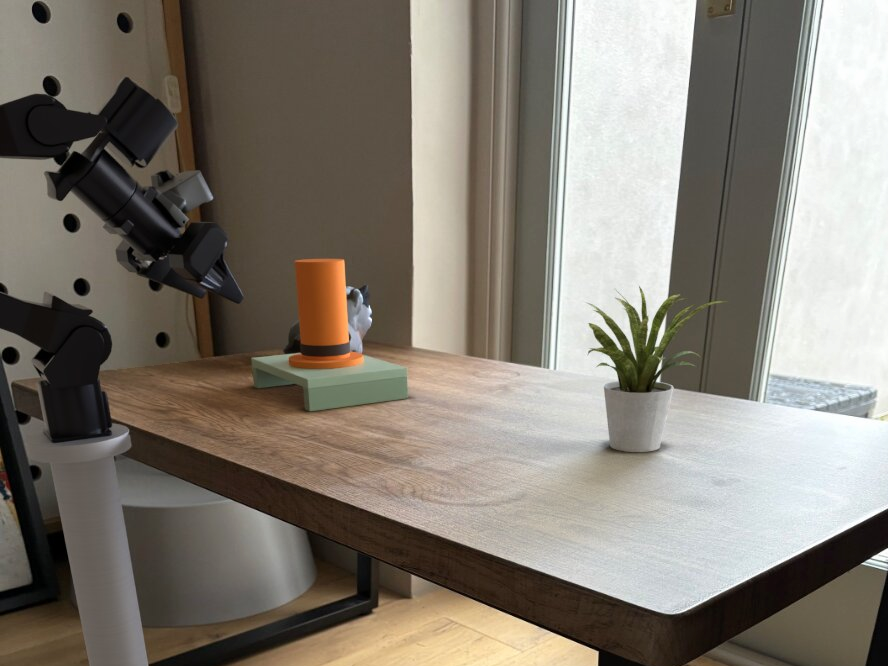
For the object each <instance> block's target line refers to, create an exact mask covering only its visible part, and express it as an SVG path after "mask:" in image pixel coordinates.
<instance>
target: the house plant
mask: <svg viewBox="0 0 888 666" xmlns="http://www.w3.org/2000/svg"><path fill="white" fill-rule="evenodd" d="M638 288H639V293H640V296H641V297H640V298H641V309H640V310H641V318H640V315H639V313H638V311H637V309H636V308H635V307H634V306H633V305H632V304H630V303H629V301H628V300H627V299H626V297H624V296H623V295H622V294H621V293H620V292H619V291H618V290H617V289H616V288H615V287H614V290H615V291H616V292H617V293H618V294H619V295H620V296H621V297H622V298H623V299H621V298H618V297H615V299H616V300H617V301H618V302H619V303H620V304H621V305H622V306H623V307H622V309H623V310H625V312H626V314H627V317H628V322H629V328H630V333H631V337H632V343H633V348H634V353H633V351H632V348H631V347H632V346H631V343H630V340H629V339H628V337H627V336H626V334H625V333H624V331H623V330H622V329H621V328H620V326H618V324H617V322H615V321H614V319H612V318H611V317H610V316H609V315H607V313H606V312H604V311H603V310H601V308H599V307H597V306H596V305H594V304H592V303H590V302H586V301H583V302H584V303H586V304H588V305H589V306H591V307H592V308H593V312H595V313H597V314H599V315H600V316H601V317H602V319H603V320H604V323H605V325H606V326H608V328H609V329H610V330H611V332H612V333H613V334H614V336H615V337H616V340H617V341H618V343H619V346H620V348H621V349H620V348H619V347H618V345H617V343H616V342H615V341H614V340H613V339H612V338H611V337H610V335H608V334H607V333H606V331H604V330H603V328H601V327H600V326H599V325H598V324H594V323H591V322H588V326H589V328H590V329H591V330H592V332H593V333H592V334H593V335H594V338H595V340H596V341H597V342H598V343H599V344H600V345H601V347H597V348H594V347H592V348H591V347H590V348H588V349H589V350H588V352H587V355H589V354H590V353H592V352H598V353H601V355H603V354H604V355H606V356H608V357H609V358H610V360H611V361H612V362H613V364H614V366H612V365H610V364H608V363H607V362H600V363H599V364H597V365H596V368H598V367H599V366H603V367H604V366H605V367H610V368H611V369H613V370H614V371H615V372H616V374H617V379H618V380H616V381H612V382H611V381H610V382H608V383H605V384H604V385H603V393H604V403H605V412H606V421H607V429H608V438H609V447H610V448H611V449H614V450H617V451H621V452H627V453H645V452H646V453H647V452H653V451H657V450H659V449H660V448H661V444H662V439H663V435H664V431H665V426H666V422H667V418H668V415H669V409H670V406H671V402H672V399H673V394H674V389H675V388H674V385H672V384H670V383H667V382H662V381H658V379H659V377H660V376H661V374H662V373H663V372H664V371H665V370H667V369H670V368H673V367H677V366H685V365H686V366H687V365H690V366H693V367H694V366H695V367H696V365H694V364H692V363H691V362H690V361H683V360H682V361H681V360H680V361H675V362H673V360H674V359H676V358H678V357H680V356H683V355H687V354H694V355H696V356H698V357H700V355H699V354H698V353H696V352H694V351H691V350H684V351H680V352H678V353H676V354H674V355H672V356H671V357H670V358H669V359H668V360H666V361H665V363H664V364H663V366H662V368H660V369H659V365H660V364H661V362H662V361H663V360H665V359H666V357H664V356H663V355H664V354H665V351H666V349H667V347H668V346H669V344H670V343H671V341H672V340H674V339H675V338H676V334H677V333H678V332H679V331H680V329H681V328H682V327H683V326H684V325H685V323H686V322H688V320H690V319H691V318H692V317H693V315H695V314H696V313H698V312H699V311H701V310H702V309H704V308H707V307H709V306H711V305H715V304H720V303H727V302H729V300H719V301H718V300H717V301H711V302H707V303H704V304H702V305H700V306H698V307H696V308H695V309H693V310H692V311H690V308H691V307H693V306H694V304H692V305H690V306H688V307H686V308H684V309H683V310H681V311H679V312H678V313H677V314H676V315H675V316H674V317H673V319H672V320H671V322H670V323H669V325H668V327H667V328H666V330H665V331H664V333H663V335H662V336H661V340H660V341H659V344H658V346H656V343H657V341H658V337H659V332H660V329H661V327H662V325H663V322H664V320H665V317H666V315H667V314H668V312H669V311H670V308H671V307H672V306H673V305H674V304H675V303H677V302H679V301H682V300H687V299H688V297H683V298H680V299H677V298H678V297H680V296H681V293H677V294H673V295H671V296H669V297H667V298H666V299H665V300H664V301H663V302H662V304H661V305H660V306H659V308H658V309H657V311H656V312H655V315H654V316H653V319H652V322H651V327H650V331H649V326H648V323H649V321H650V320H649V315H648V311H647V301H646V297H645V293H644V291H643V289H642V288H641V286H640V285H638ZM676 299H677V300H676ZM689 311H690V312H689ZM687 312H689V313H688V314H687V315H686V316H685V317H684V318H682V317H683V316H684V314H685V313H687ZM648 332H649V334H648ZM634 354H635V355H634ZM658 369H659V370H658Z"/></svg>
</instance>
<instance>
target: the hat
mask: <svg viewBox="0 0 888 666" xmlns="http://www.w3.org/2000/svg"><path fill="white" fill-rule="evenodd" d="M345 267H346V266H345V259H343V258H306V259H296V260H294V274H295V286H296V296H297V300H296V301H297V311H298V320H299V325H300V338H301V343H300V347H301V353H300V354H295V355H292V356H290V357H289V365H290V366H293V367H297V368H306V369H332V368H343V367H350V366H355V365H358V364H361V363H362V362H363V355H364V354H363V353H362V354H361V353H357V352H351V351H350V341H349V334H348V317H347V300H346V286H347V285H346V268H345Z"/></svg>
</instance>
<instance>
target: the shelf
mask: <svg viewBox="0 0 888 666" xmlns="http://www.w3.org/2000/svg"><path fill="white" fill-rule="evenodd" d="M351 352H352V351H351ZM295 354H300V353H294V354H285V353H284V354H276V355H266V356H257V357H251V358H250V360H251V361H250V362H251V369H252V370H251V371H252V380H253V387H254V388H256V389H264V388H273V387H280V386H290V385H297V386H299V387H303V388H302V389H303V402H304V403H303V404H304V410H305V411H308V412H317V411H325V410H330V409H331V410H332V409H339V408H346V407H353V406H362V405H369V404H376V403H383V402H391V401H398V400H406V399H409V389H408V388H409V387H408V386H409V385H408V367H406V366H403V365H399V364H396V363H393V362H389V361H385V360H383V359H379V358H375V357H372V356H369V355H366V354H362V355H363V362H362V363H361V364H358V365H355V366H350V367H343V368H332V369H306V368H297V367H293V366H290V365H289V357H290V356H292V355H295Z"/></svg>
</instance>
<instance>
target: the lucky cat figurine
mask: <svg viewBox="0 0 888 666" xmlns="http://www.w3.org/2000/svg"><path fill="white" fill-rule="evenodd" d="M370 295H371V294H370V292H369V284H363V286H361V287H360V288H356V287H353V286H347V285H346V300H347V317H348V334H349V341H350V351H352V352H357V353H361V354H362V355H363V340H364V337H365V336H366V334H367V332H368V330H369V329H370V328H371V326H372V322H373V320H372V316H371V315H372V309H371V306H370ZM287 339H288V344H287V345H285V346H283V349H282V351H283V353H284V355H285V354H294V353H301V347H300V343H301V338H300V325H299V319H297V320H296V321H295V322H294V323H293V324H292V325H291V327H290V329H289V332H288V337H287Z"/></svg>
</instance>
